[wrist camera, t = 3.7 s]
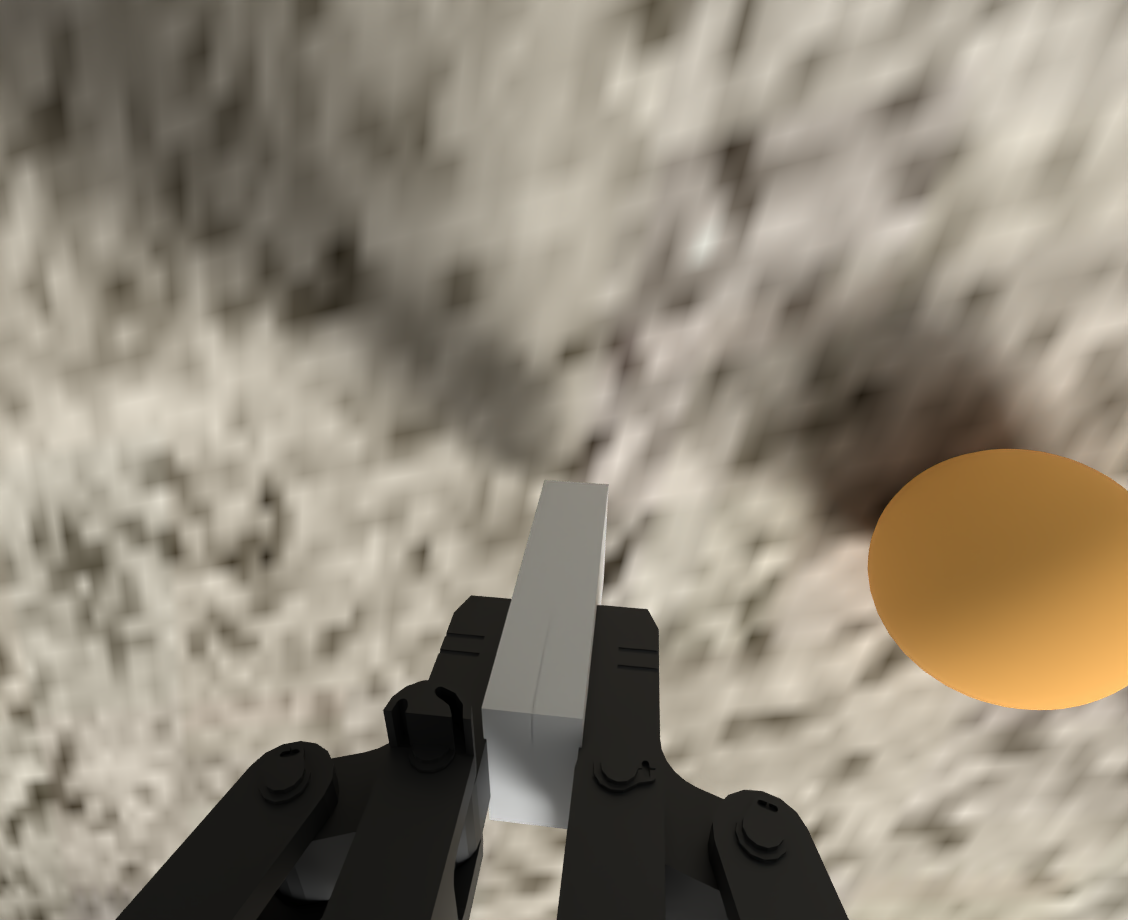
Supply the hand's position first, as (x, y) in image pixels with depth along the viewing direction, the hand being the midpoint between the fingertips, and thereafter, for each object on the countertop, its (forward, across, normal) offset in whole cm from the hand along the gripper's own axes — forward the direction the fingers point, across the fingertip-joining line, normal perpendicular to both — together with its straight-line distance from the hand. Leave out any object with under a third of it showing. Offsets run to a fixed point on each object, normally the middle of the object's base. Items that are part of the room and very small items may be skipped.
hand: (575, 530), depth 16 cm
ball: (-1, +10, 0) cm, 10 cm away
